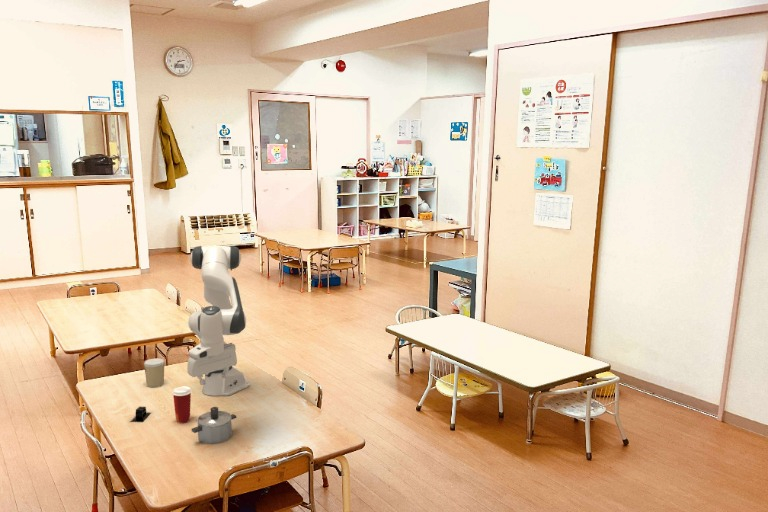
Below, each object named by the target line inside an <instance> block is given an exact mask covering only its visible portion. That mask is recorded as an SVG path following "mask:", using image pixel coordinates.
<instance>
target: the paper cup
mask: <svg viewBox="0 0 768 512" xmlns="http://www.w3.org/2000/svg"><path fill="white" fill-rule="evenodd" d="M171 394H172V396H173V397H172V398H173V406H174V413H175V422H176V423H177V424H185V423H188V422H189V421H190V420H191V402H192V401H191V399H192V397H191V396H192V395H191V394H192V389H191V387H190V386H183V385H182V386H178V387H175V388H173V391H172V392H171Z"/></svg>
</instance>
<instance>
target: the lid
mask: <svg viewBox="0 0 768 512" xmlns="http://www.w3.org/2000/svg"><path fill="white" fill-rule="evenodd" d="M231 415H232V414H231V413H230V412H228V411H223V410H219V407H217V406H213V407H212V406H211V407H210V411H208V412H205V413H202V414H201V415H199V416H198V418H197V424H198V423H199V424H200V425H201V426H205V427H218V426H222V425H225V424H227V423H228V422H230V421H231Z"/></svg>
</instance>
